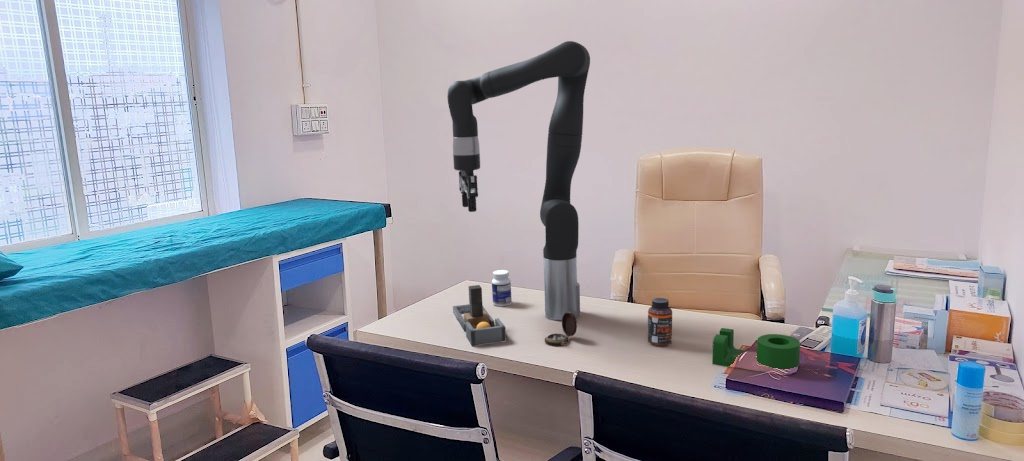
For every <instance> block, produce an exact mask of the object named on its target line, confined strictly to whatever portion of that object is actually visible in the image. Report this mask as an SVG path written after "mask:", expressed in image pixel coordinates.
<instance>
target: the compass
mask: <svg viewBox="0 0 1024 461" xmlns="http://www.w3.org/2000/svg"><path fill="white" fill-rule="evenodd" d="M561 326H562V330H563V333H564V334H563V333H551V334H549V335H547V336H545V338H544V343H545V344H546V345H548V346H553V347H554V346H556V347H558V346H568V345H569V344H570V343H569V341H570V339H569V338H570V337H572V336H574V335H575V334H576V333H577V330H578V322H577V317H575V316H574V314H573V313H571V312H566V313H565V314H564V315H563V317H562V320H561Z"/></svg>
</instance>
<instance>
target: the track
mask: <svg viewBox="0 0 1024 461" xmlns="http://www.w3.org/2000/svg"><path fill="white" fill-rule="evenodd" d="M483 311H485V312H486V313H487V314H488V316H489V323H490V326H491V327H495V319H493V317H492V316H491V314H490V313H489V312H488V311H487V310H486V307H484V306H483ZM464 312H465V313H470V305H469V304H461V305H460V304H459V305H452V313H453V315H454V317H455V318H456V320H457V322H458V324H459V325H460V326H461V328H462V330H463V331H464V333H466V323H465V320H464V316H463V315H462V314H464Z"/></svg>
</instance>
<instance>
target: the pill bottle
mask: <svg viewBox="0 0 1024 461" xmlns="http://www.w3.org/2000/svg"><path fill="white" fill-rule="evenodd" d="M509 276H510V274H509V270H506V269H499V270H494V271H493V272H492V277H493V278H492V280H491V290H492V293H491V294H492V304H493V305H494V306H497V307H507V306H509V305H511V304H512V302H513V301H512V284H511V283H512V282H511V279H510V278H509Z"/></svg>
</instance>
